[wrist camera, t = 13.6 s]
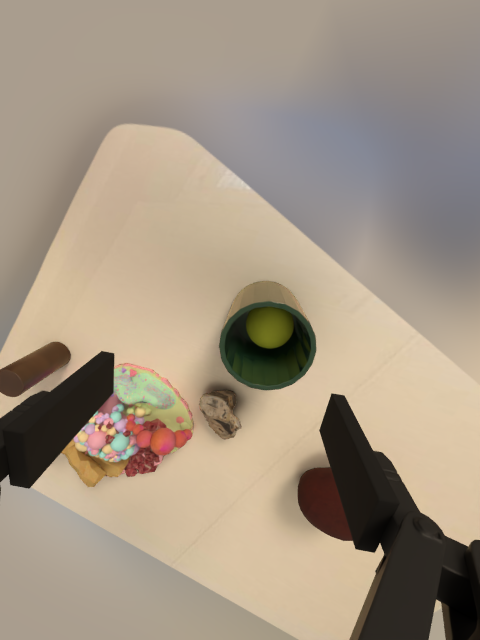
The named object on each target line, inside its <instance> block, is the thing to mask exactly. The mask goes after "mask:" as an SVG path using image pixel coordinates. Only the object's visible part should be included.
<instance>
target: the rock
mask: <svg viewBox="0 0 480 640" xmlns="http://www.w3.org/2000/svg"><path fill="white" fill-rule="evenodd" d="M200 400H201V401H200V404H199V405H200V410H201V411H202V412H203V414H204V416H205V418H206V420H207V421H208V422H209V426H210V427H211V428H212V429H213V430H214V431H215V433H217V434H218V435H219V436H220V437H221V438H222V439H229V438H232V437H234V436H235V434H236V430H239V429H241V427H242V426H241V424H240V421H239V419H238V418H237V417H235V416H234V415H233V408H234V406H235V405H236V396H235V393H234V392H233V391H226V390H223V391H216V392H211V393H210V394H208V393H206V394H204V395H203V396H202V397H201V399H200Z"/></svg>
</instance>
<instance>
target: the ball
mask: <svg viewBox="0 0 480 640" xmlns="http://www.w3.org/2000/svg"><path fill="white" fill-rule="evenodd" d="M246 329H247V333H248V335H249V337H250V338H251V340H252V341H253V342H254V343H255V344H257V345H258V346H261V347H263V348H277V347H279V346H282V345H283V344H285V343H286V342H287V341H288V340H289V338H290V337H291V335H292V333H293V329H294V321H293V317H292V314H291V313H290V312H288V311H286V310H284V309H280V308H275V307H270V306H269V307H260V308H254V309H252V310H251V311H250V312H249V314H248V317H247V320H246Z"/></svg>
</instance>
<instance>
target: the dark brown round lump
mask: <svg viewBox="0 0 480 640" xmlns="http://www.w3.org/2000/svg"><path fill="white" fill-rule="evenodd" d="M298 503H299V506H300V509H301V511H302V513H303V515H304V516H305V517H306V519H307V520H308V521H309V522H310V523H311V524H312V525H313V526H315V527H316V528H317V529H319V530H321V531H322V532H324V533H326V534H328V535H329V536H331V537H334V538H337V539H340V540H343V541H353V539H352V536H351V532H350V529H349V526H348V522H347V519H346V516H345V513H344V509H343V506H342V503H341V500H340V496H339V493H338V490H337V486H336V483H335V480H334V477H333V473H332V470H331V468H314V469H311V470H309V471H306V472H305V473H304V474H303V476H302V477H301V478H300V481H299V485H298Z"/></svg>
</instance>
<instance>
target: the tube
mask: <svg viewBox="0 0 480 640" xmlns="http://www.w3.org/2000/svg"><path fill="white" fill-rule="evenodd" d="M269 306H270V307H275V308H280V309H284V310H286V311H288V312H290V313H291V314H292V317H293V321H294V329H293V333H292V335H291V337H290V338H289V340H288V341H287V342H286V343H285V344H283V345H282V346H279V347H277V348H263V347H261V346H258V345H257V344H255V343H254V342H253V341H252V340H251V338H250V337H249V335H248V333H247V329H246V320H247V317H248V314H249V312H250V311H251V310H252V309H254V308H260V307H269ZM219 348H220V354H221V359H222V361H223V363H224V365H225V367H226V369H227V371H228V372H229V373H230V374H231V375H232V376H233V377H234V378H235V379H236V380H237V381H239V382H241V383H243V384H245V385H247V386H249V387H251V388H255V389H261V390H275V389H281V388H284V387H286V386H289V385H292V384H294V383H295V382H296V381H297V380H299V379H300V378H301V377H303V376H304V375H305V374H306V372H307V371H308V369H309V368H310V367H311V365H312V363H313V360H314V356H315V353H316V337H315V334H314V331H313V329H312V327H311V325H310V322H309V321H308V319H307V317H306V315H305V313H304V312H303V310H302V308H301V306H300V304H299V303H298V301H297V299H296V297H295V296H294V295H293V294H292V292H291V291H290V290H289V289H287V288H286V287H285V286H283V285H281V284H279V283H276V282H271V281H260V282H256V283H253V284H250V285H248V286H247V287H245V288H244V289H242V290H241V291H240V292H239V294H238V295H237V296H236V298H235V300H234V302H233V304H232V306H231V308H230V311H229V314H228V316H227V319H226V322H225V324H224V327H223V329H222V332H221V337H220V343H219Z"/></svg>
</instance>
